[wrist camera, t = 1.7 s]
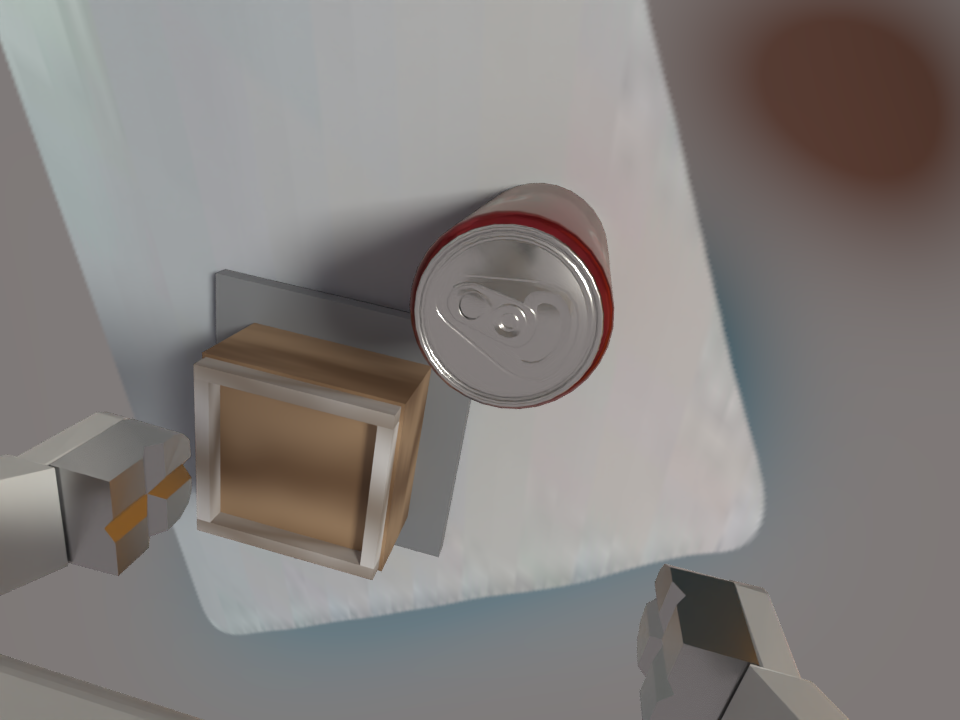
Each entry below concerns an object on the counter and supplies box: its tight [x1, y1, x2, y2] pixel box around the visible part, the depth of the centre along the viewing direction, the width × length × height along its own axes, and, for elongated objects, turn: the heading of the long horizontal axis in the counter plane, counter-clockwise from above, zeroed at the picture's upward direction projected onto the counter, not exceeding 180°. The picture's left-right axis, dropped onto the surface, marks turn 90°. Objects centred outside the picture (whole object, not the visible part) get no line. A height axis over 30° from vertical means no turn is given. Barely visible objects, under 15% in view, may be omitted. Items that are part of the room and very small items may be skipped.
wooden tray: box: [194, 323, 431, 580], centre depth 33 cm, size 11×11×6 cm
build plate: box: [216, 269, 471, 557], centre depth 36 cm, size 16×16×1 cm
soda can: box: [410, 183, 614, 409], centre depth 25 cm, size 7×7×12 cm
